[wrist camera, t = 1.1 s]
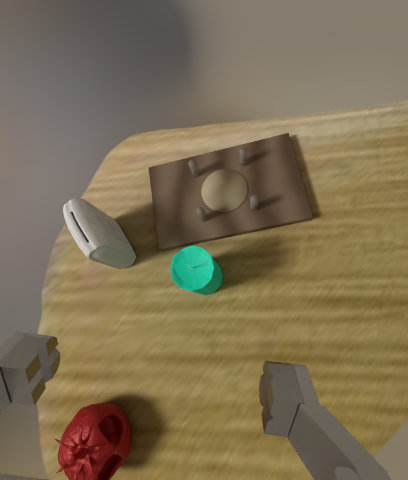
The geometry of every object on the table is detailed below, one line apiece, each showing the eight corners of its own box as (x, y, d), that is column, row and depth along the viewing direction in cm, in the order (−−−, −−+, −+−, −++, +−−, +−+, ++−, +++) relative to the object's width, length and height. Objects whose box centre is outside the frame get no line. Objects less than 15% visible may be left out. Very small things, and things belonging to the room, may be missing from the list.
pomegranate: (76, 464, 42) (27, 506, 33) (84, 393, 45) (41, 415, 36) (135, 474, 40) (100, 521, 31) (141, 399, 43) (110, 423, 34)
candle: (223, 259, 46) (212, 242, 35) (223, 295, 44) (212, 290, 33) (188, 259, 47) (167, 243, 36) (187, 295, 45) (164, 290, 34)
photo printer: (96, 229, 52) (50, 205, 40) (115, 216, 52) (74, 188, 40) (121, 273, 49) (78, 261, 37) (141, 259, 49) (104, 243, 37)
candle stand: (287, 138, 49) (291, 117, 44) (311, 220, 45) (318, 208, 40) (151, 171, 53) (140, 156, 47) (161, 250, 48) (150, 243, 43)
